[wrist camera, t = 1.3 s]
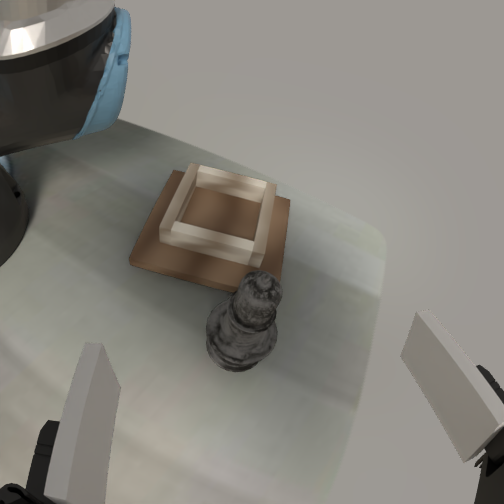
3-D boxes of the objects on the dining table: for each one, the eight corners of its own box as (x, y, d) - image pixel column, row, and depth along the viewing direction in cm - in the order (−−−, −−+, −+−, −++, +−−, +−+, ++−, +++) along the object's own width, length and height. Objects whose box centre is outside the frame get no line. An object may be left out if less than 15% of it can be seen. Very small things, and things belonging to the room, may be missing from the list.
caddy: (130, 264, 31) (126, 243, 28) (173, 177, 40) (174, 154, 37) (274, 303, 32) (284, 284, 29) (287, 206, 40) (296, 185, 38)
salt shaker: (223, 386, 26) (251, 338, 16) (191, 330, 28) (200, 253, 19) (278, 357, 29) (332, 295, 19) (246, 306, 31) (280, 225, 22)
